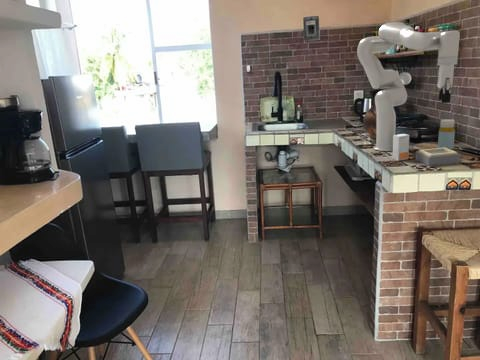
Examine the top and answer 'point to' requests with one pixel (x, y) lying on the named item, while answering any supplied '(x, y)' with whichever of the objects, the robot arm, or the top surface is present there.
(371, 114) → the ceramic vessel
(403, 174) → the top surface
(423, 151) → the tray
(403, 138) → the skincare box
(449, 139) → the bottle
